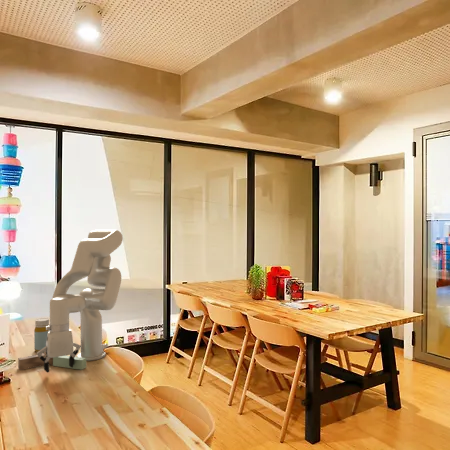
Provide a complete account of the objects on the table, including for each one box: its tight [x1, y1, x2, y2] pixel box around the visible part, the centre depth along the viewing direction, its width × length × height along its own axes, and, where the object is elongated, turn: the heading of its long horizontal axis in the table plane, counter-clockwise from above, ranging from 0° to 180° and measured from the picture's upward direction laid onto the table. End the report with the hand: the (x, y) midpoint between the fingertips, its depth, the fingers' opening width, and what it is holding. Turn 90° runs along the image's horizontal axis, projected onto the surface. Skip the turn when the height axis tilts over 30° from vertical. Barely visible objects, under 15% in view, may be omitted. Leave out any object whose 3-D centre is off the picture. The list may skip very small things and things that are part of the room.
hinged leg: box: [52, 355, 87, 370], centre depth 178 cm, size 16×3×5 cm, turn 71°
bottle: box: [33, 317, 50, 353], centre depth 202 cm, size 7×7×15 cm
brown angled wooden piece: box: [17, 351, 53, 371], centre depth 185 cm, size 25×11×5 cm, turn 158°
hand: (59, 369), depth 171 cm, fingers open, 9 cm apart
